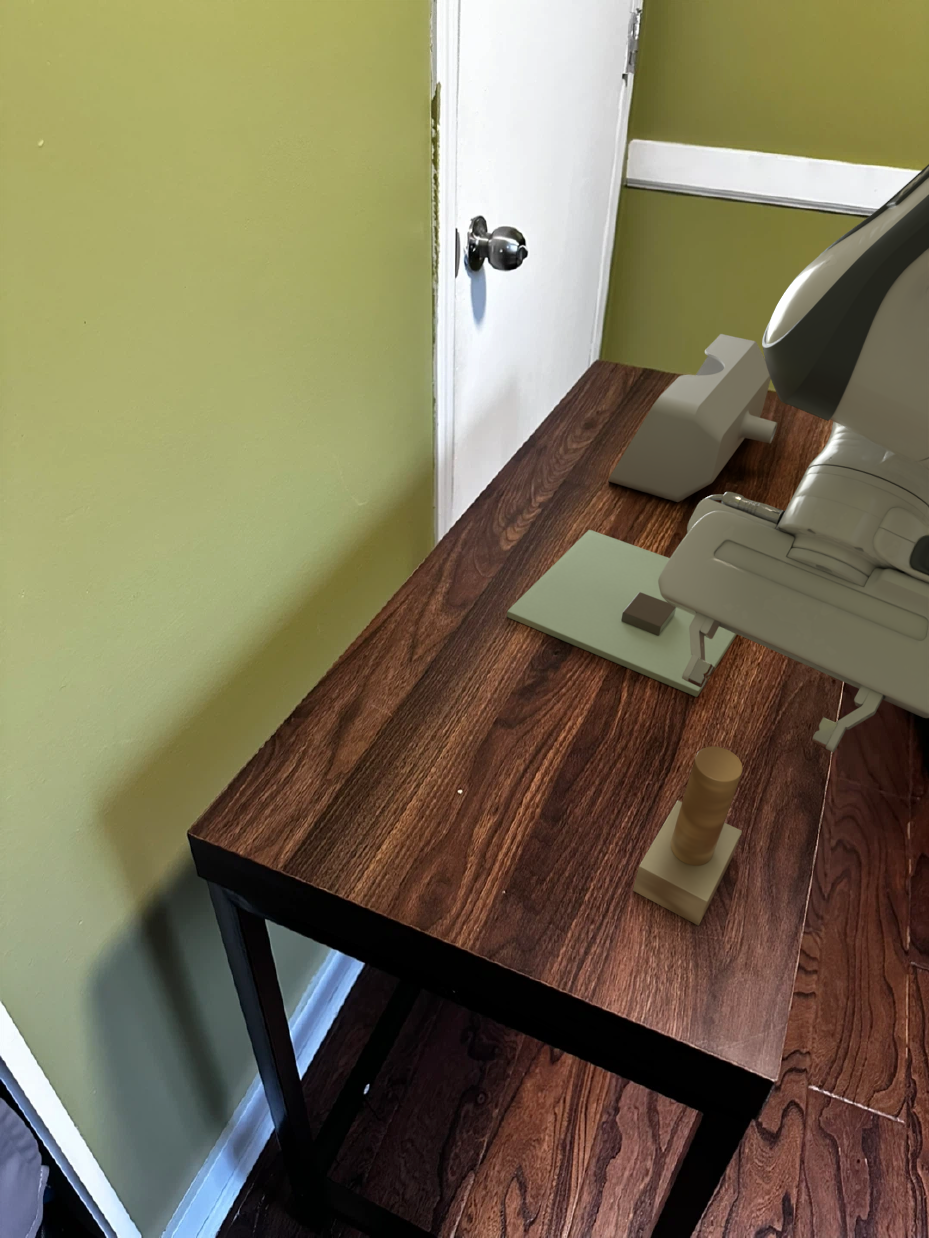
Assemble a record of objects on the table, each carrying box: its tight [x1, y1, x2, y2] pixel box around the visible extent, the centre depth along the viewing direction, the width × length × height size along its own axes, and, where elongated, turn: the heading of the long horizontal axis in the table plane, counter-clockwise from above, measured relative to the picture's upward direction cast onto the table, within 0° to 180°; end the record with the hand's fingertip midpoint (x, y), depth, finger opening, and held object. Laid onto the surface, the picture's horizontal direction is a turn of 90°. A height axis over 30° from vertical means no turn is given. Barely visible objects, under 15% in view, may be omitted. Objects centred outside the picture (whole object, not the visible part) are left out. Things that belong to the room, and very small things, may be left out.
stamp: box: [632, 745, 743, 926], centre depth 59 cm, size 5×7×12 cm
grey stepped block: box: [607, 333, 778, 503], centre depth 107 cm, size 25×16×12 cm, turn 150°
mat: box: [506, 529, 738, 698], centre depth 87 cm, size 20×18×1 cm
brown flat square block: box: [621, 592, 676, 636], centre depth 84 cm, size 4×4×1 cm
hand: (754, 714), depth 59 cm, fingers open, 8 cm apart
